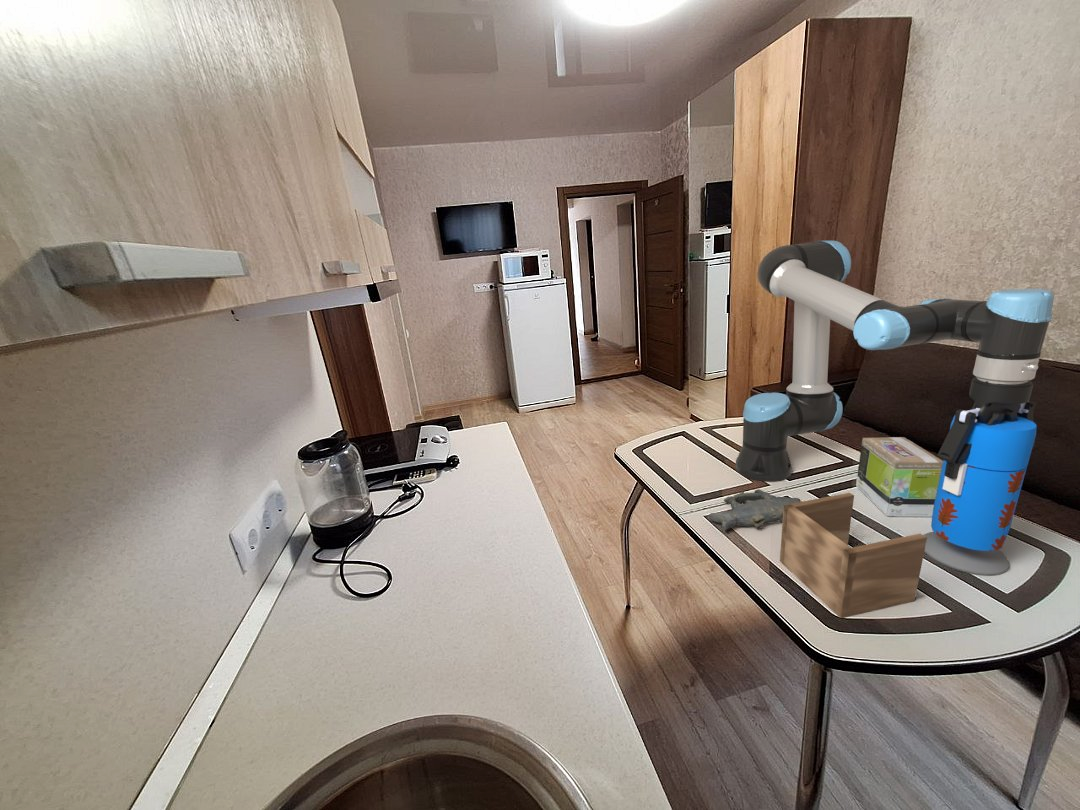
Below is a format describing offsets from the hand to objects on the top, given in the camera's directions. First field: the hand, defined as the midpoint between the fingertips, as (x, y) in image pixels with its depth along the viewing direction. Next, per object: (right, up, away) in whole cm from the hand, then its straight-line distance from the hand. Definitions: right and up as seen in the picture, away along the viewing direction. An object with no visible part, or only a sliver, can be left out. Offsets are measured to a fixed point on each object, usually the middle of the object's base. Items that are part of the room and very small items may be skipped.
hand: (977, 486), depth 81 cm
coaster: (+2, -15, +5) cm, 16 cm away
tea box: (+4, -9, +24) cm, 26 cm away
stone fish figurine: (-31, -13, +26) cm, 42 cm away
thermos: (+1, -11, +3) cm, 11 cm away
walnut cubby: (-25, -19, +2) cm, 32 cm away
